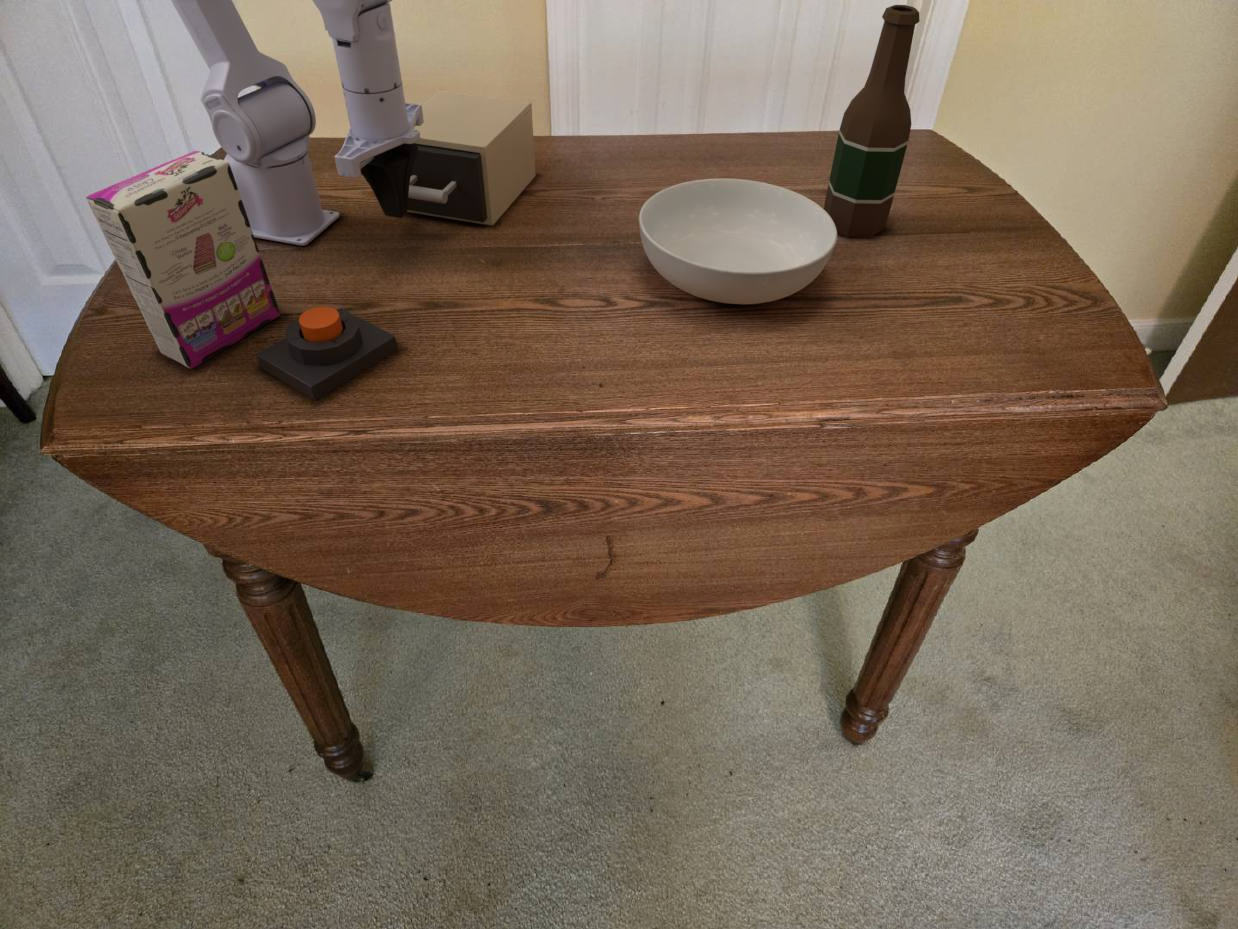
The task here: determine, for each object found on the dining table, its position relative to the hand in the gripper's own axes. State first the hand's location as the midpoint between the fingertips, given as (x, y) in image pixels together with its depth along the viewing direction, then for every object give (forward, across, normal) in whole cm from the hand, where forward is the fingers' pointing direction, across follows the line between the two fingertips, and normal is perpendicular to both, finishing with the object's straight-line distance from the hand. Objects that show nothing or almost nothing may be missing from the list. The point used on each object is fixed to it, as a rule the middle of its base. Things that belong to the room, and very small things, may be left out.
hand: (395, 214), depth 89 cm
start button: (+3, -19, -2) cm, 19 cm away
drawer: (+5, +14, 0) cm, 15 cm away
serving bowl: (+6, +8, -36) cm, 37 cm away
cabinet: (+6, +18, 0) cm, 19 cm away
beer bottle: (+6, +25, -48) cm, 54 cm away
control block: (+6, -19, -2) cm, 20 cm away
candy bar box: (+6, -19, +10) cm, 22 cm away
